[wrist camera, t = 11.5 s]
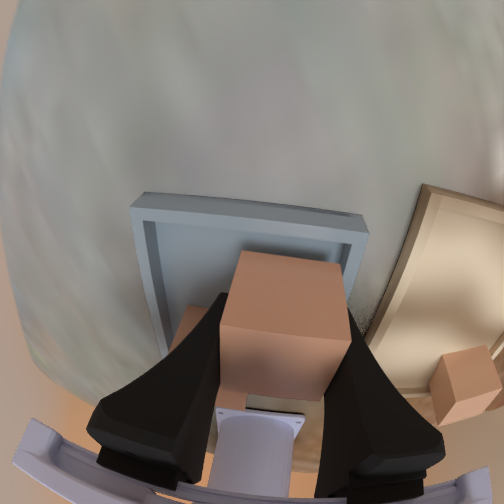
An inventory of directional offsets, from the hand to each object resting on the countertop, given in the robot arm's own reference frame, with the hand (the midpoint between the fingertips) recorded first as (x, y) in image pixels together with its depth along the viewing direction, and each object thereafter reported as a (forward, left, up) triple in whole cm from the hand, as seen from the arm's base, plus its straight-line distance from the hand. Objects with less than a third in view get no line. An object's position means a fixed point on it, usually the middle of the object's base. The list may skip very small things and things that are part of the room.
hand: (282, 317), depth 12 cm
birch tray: (-2, -12, -3) cm, 12 cm away
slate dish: (-2, +2, -3) cm, 5 cm away
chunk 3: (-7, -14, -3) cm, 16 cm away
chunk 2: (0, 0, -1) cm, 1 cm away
